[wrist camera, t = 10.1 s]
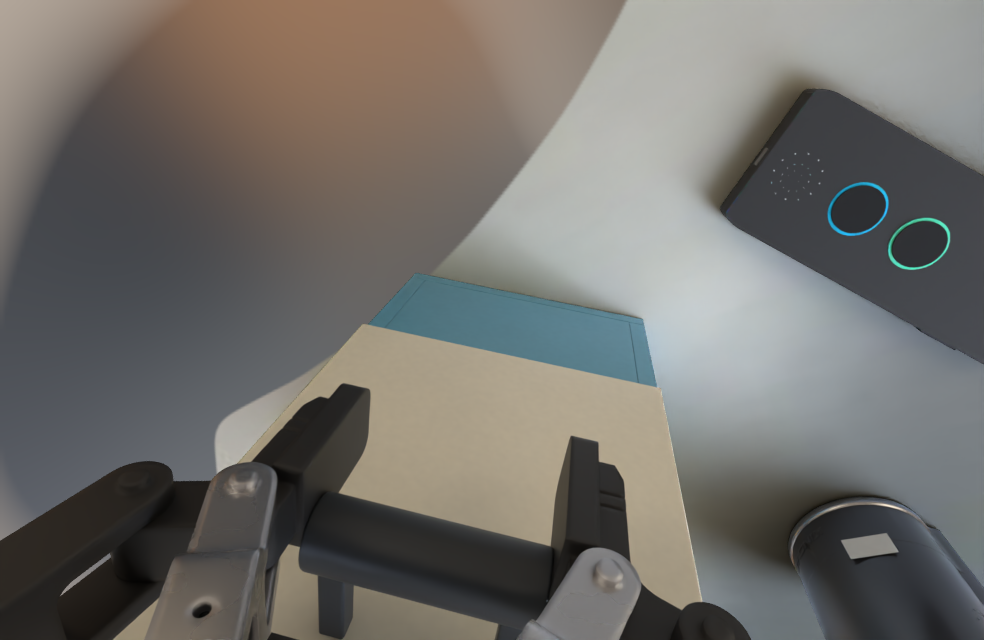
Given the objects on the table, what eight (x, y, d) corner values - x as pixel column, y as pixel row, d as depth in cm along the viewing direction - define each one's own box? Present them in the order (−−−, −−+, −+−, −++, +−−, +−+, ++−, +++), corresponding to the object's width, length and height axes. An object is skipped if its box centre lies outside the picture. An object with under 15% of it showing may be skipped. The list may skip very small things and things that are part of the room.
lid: (741, 882, 11) (853, 763, 9) (67, 678, 13) (5, 529, 10) (656, 400, 27) (688, 311, 24) (362, 335, 28) (364, 246, 26)
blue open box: (586, 503, 43) (585, 602, 34) (399, 458, 44) (356, 543, 36) (643, 318, 35) (657, 389, 27) (415, 272, 37) (365, 326, 29)
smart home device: (823, 79, 26) (1149, 266, 27) (810, 80, 28) (1119, 256, 29) (719, 221, 30) (1010, 382, 31) (713, 214, 32) (990, 367, 32)
